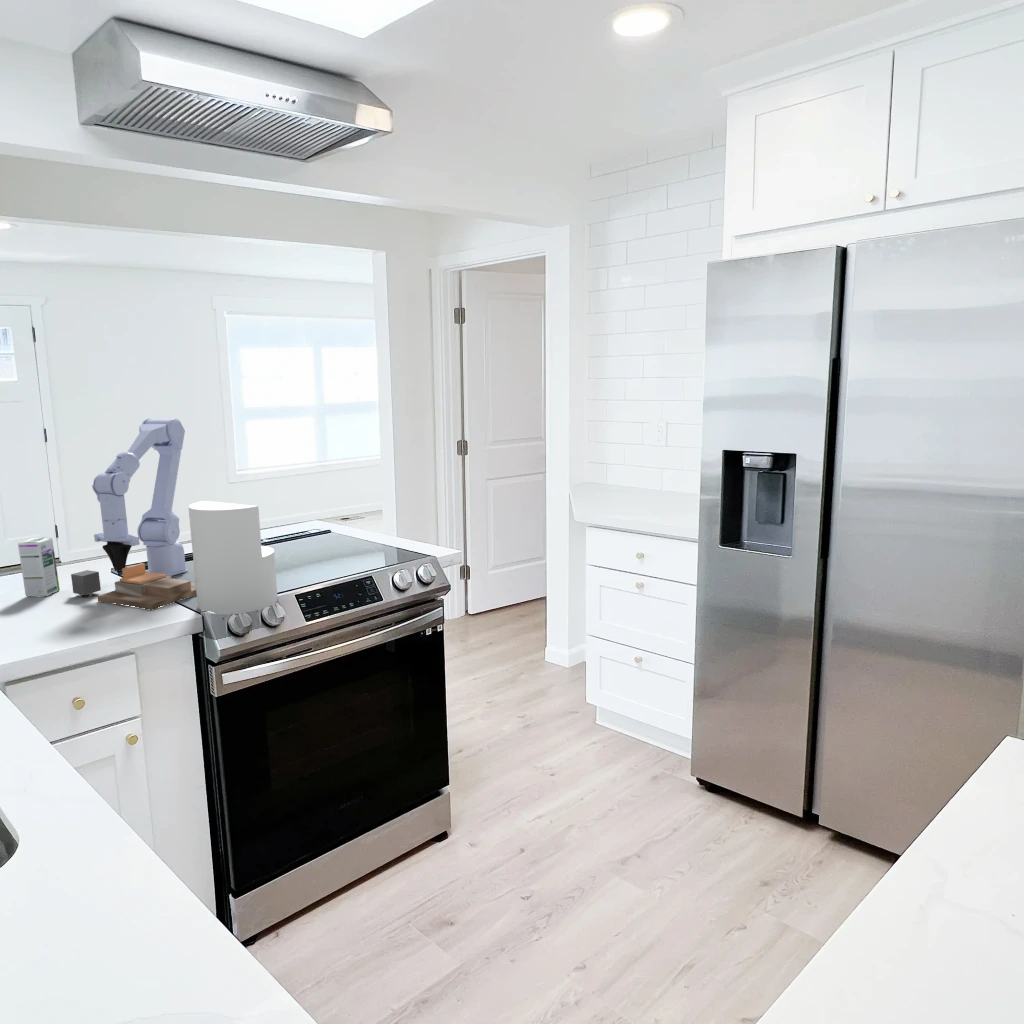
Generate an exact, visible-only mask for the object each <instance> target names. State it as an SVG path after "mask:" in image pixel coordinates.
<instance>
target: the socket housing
mask: <svg viewBox="0 0 1024 1024" xmlns="http://www.w3.org/2000/svg"><path fill="white" fill-rule="evenodd" d="M114 589H115V590H113V591H108V592H106V593H102V594H98V595H97V602H99V601H101V602H100V603H105V602H108V603H107V604H111V603H116V604H115V605H117V604H123V605H129V606H135V607H139V608H138V609H141V608H145V609H144V610H147V609H150V610H149V611H153V610H152V609H154V610H156V609H155V608H157V609H159V608H158V607H160V606H163V605H166V606H168V605H167V604H169V605H171V604H170V603H172V604H174V603H173V602H175V601H178V600H180V599H184V598H187V597H189V598H192V597H195V596H197V594H196V583H195V582H191V580H184V579H178V578H173V576H166V577H163V578H160V579H156V580H153V581H150V582H146V583H143V584H135V583H129V582H122V581H120V580H117V581H115V582H114ZM194 595H195V596H194ZM191 596H192V597H191ZM187 599H188V598H187ZM184 600H185V599H184ZM178 602H179V601H178ZM175 603H176V602H175ZM123 605H122V606H123ZM129 606H128V607H129ZM135 607H134V608H135ZM163 607H164V606H163ZM160 608H161V607H160Z"/></svg>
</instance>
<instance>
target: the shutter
mask: <svg viewBox="0 0 1024 1024" xmlns="http://www.w3.org/2000/svg"><path fill="white" fill-rule="evenodd" d="M121 572H122V573H121V574H122V578H119V581H122V582H129V583H135V584H143V583H146V582H150V581H153V580H156V579H160V578H163V577H166V576H167V574H162V573H154V572H149V571H147V570H146V564H145V563H144V562H140V563H137V564H133V565H129V566H125V568H122V571H121Z"/></svg>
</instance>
